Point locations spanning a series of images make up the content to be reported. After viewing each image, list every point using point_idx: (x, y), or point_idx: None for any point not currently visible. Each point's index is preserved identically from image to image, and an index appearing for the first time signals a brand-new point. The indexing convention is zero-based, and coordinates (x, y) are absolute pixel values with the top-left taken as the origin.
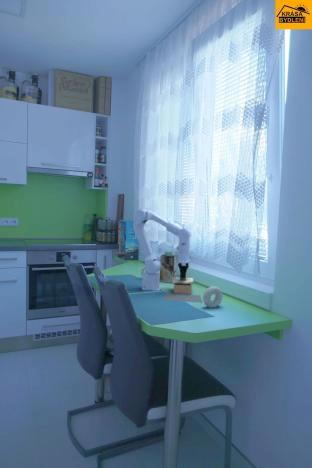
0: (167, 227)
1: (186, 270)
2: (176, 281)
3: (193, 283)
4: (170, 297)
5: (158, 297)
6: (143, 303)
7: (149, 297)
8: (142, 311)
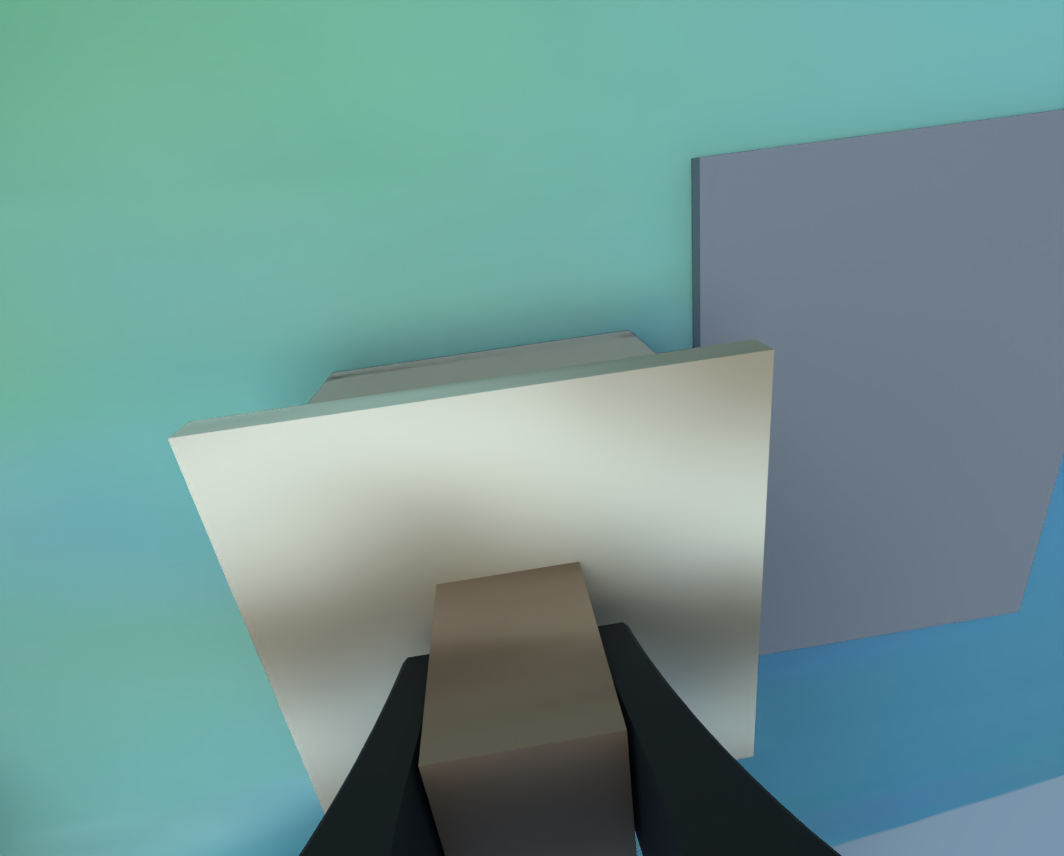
0: None
1: (795, 817)
2: (740, 699)
3: (758, 350)
4: (882, 575)
5: (823, 683)
6: (1054, 739)
7: (833, 751)
8: None
